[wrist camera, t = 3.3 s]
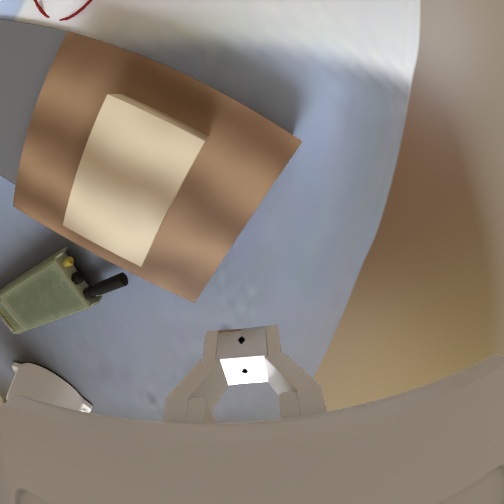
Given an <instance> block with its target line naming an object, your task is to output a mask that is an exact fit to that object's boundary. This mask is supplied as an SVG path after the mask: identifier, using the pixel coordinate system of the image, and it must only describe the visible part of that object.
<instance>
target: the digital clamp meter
mask: <svg viewBox="0 0 504 504" xmlns="http://www.w3.org/2000/svg"><path fill="white" fill-rule="evenodd" d="M91 1H92V0H89V1H88V2H87V3H86V4H85V5H84V6H83V7H82V8H80V9H79V10H78V11H77V12H76V13H74V14H72V15H71V16H69V17H66V18H63V19H59V20H60V21H62V20H68V19H70V18H72V17H73V16H75V15H77V14H78V13H79V12H80V11H82V10H83V9H84V8H85V7H86V6H87V5H88V4H89V3H90V2H91ZM34 2H35V4H36V6H37V7H38V9H39V11H40V12H41V13H42V14H43V15H44V16H45V17H47V18H49V16H48V15H46V13H45V12H44V11H43V10H42V8H41V7H40V5H39V3H38V2H37V0H34Z"/></svg>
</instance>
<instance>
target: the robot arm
mask: <svg viewBox="0 0 504 504" xmlns="http://www.w3.org/2000/svg"><path fill="white" fill-rule="evenodd" d="M265 329H266V330H265ZM12 368H13V370H14V372H15V376H14V378H13V381H12V383H11V386H10V388H9V391H8V394H7V397H6V399H7V402H6V403H5V404H3V405H2V406H1V407H0V504H504V356H501V355H493V356H491V357H489V358H487V359H485V360H483V361H481V362H479V363H477V364H475V365H473V366H471V367H468V368H466V369H464V370H462V371H459V372H457V373H455V374H452V375H450V376H448V377H445V378H443V379H440V380H437V381H435V382H433V383H430V384H427V385H424V386H421V387H418V388H416V389H413V390H410V391H407V392H404V393H400V394H397V395H394V396H390V397H387V398H384V399H380V400H376V401H373V402H369V403H365V404H361V405H357V406H352V407H348V408H343V409H338V410H333V411H329V412H327V410H326V405H325V401H324V397H323V392H322V387H321V385H319V384H318V383H317V382H316V381H315V380H314V379H313V378H312V377H310V376H309V375H308V374H307V373H306V372H305V371H304V370H303V369H302V368H300V367H299V366H298V365H297V364H296V363H295V362H294V361H293V360H292V359H291V358H289V357H288V356H287V355H286V354H282V351H281V344H280V337H279V330H278V325H269V326H261V327H252V328H243V329H233V330H219V331H207V332H206V336H205V344H204V353H203V361H199V362H198V363H197V364H196V365H195V367H194V368H193V369H192V370H191V371H190V372H189V373H188V374H187V375H186V376H185V378H184V379H183V380H182V381H181V382H180V383H179V384H178V385H177V386H176V387H175V388H174V389H173V391H172V392H171V393H170V394H169V395H168V396H167V398H166V404H165V410H164V416H163V422H156V421H144V420H134V419H126V418H118V417H111V416H104V415H98V414H93V413H89V412H90V411H91V410H92V407H93V406H92V405H91V404H90V403H89V402H87V401H86V400H85V399H83V398H82V397H81V396H80V395H79V394H78V392H77V391H76V390H75V389H74V388H73V387H72V386H70V385H69V384H68V383H67V382H65V381H64V380H63V379H61V378H60V377H58V376H57V375H55V374H54V373H52V372H50V371H49V370H47V369H45V368H43V367H40V366H38V365H35V364H32V363H24V364H19V363H16V362H13V365H12ZM255 382H268V383H269V384H270V386H271V387H272V388H273V389H274V390H275V392H276V393H277V394H278V395H279V403H280V416H281V419H274V420H264V421H251V422H235V423H217V421H216V419H215V417H214V415H213V413H212V410H213V408H214V407H215V405H216V404H217V402H218V401H219V399H220V398H221V396H222V395H223V393H224V392H225V390H226V389H227V387H228V385H232V384H242V383H255Z"/></svg>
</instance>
